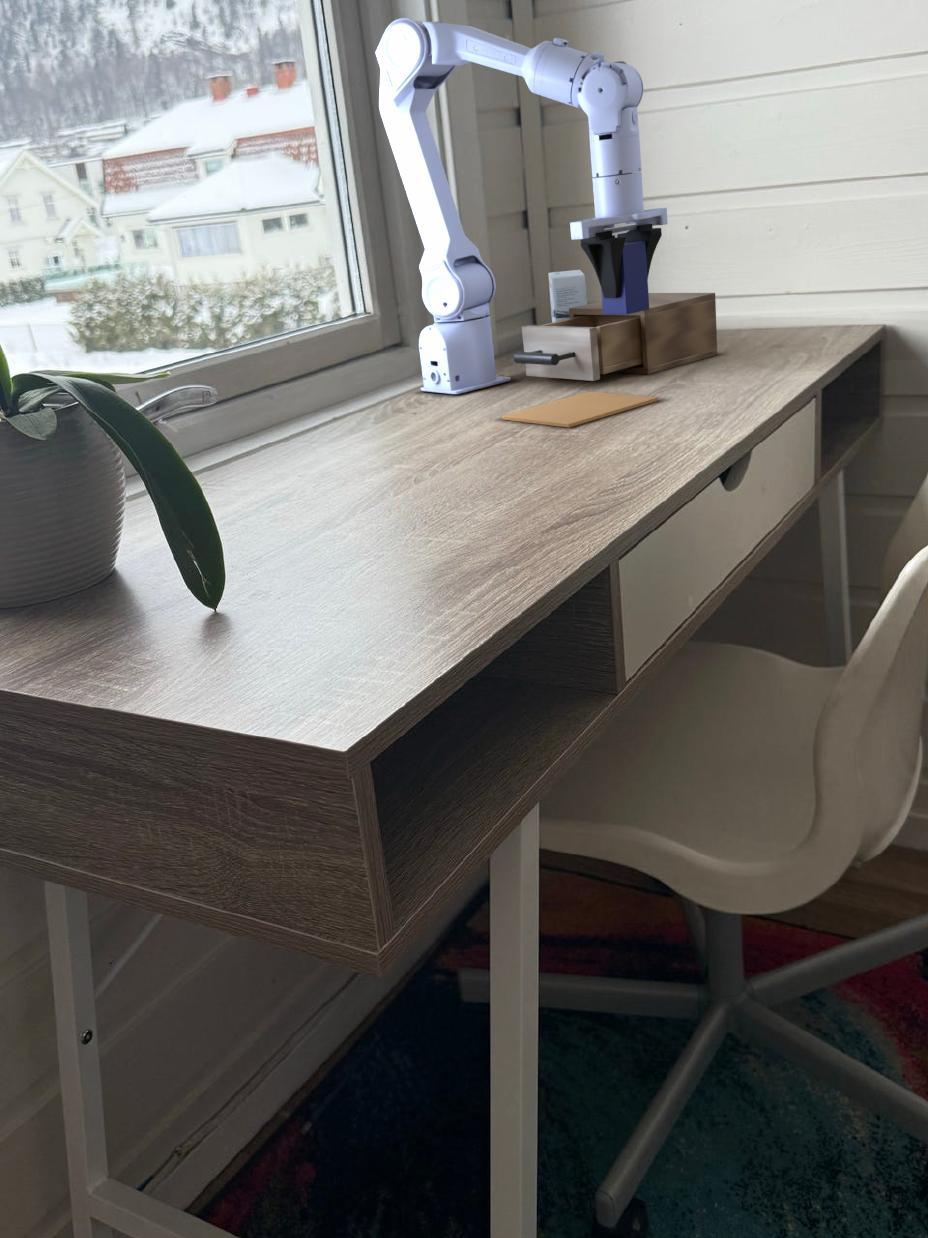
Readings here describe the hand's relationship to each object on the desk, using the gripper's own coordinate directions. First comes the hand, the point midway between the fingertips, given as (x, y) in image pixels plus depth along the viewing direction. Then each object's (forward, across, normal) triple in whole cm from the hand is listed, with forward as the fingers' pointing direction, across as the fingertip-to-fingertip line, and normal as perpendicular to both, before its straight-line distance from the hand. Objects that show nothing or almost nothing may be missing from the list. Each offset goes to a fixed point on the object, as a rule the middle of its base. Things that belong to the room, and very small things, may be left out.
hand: (624, 294), depth 139 cm
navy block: (+2, 0, 0) cm, 2 cm away
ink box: (+11, +12, +23) cm, 28 cm away
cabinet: (+10, +11, +8) cm, 17 cm away
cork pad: (+10, -15, -6) cm, 19 cm away
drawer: (+10, -1, +8) cm, 12 cm away
